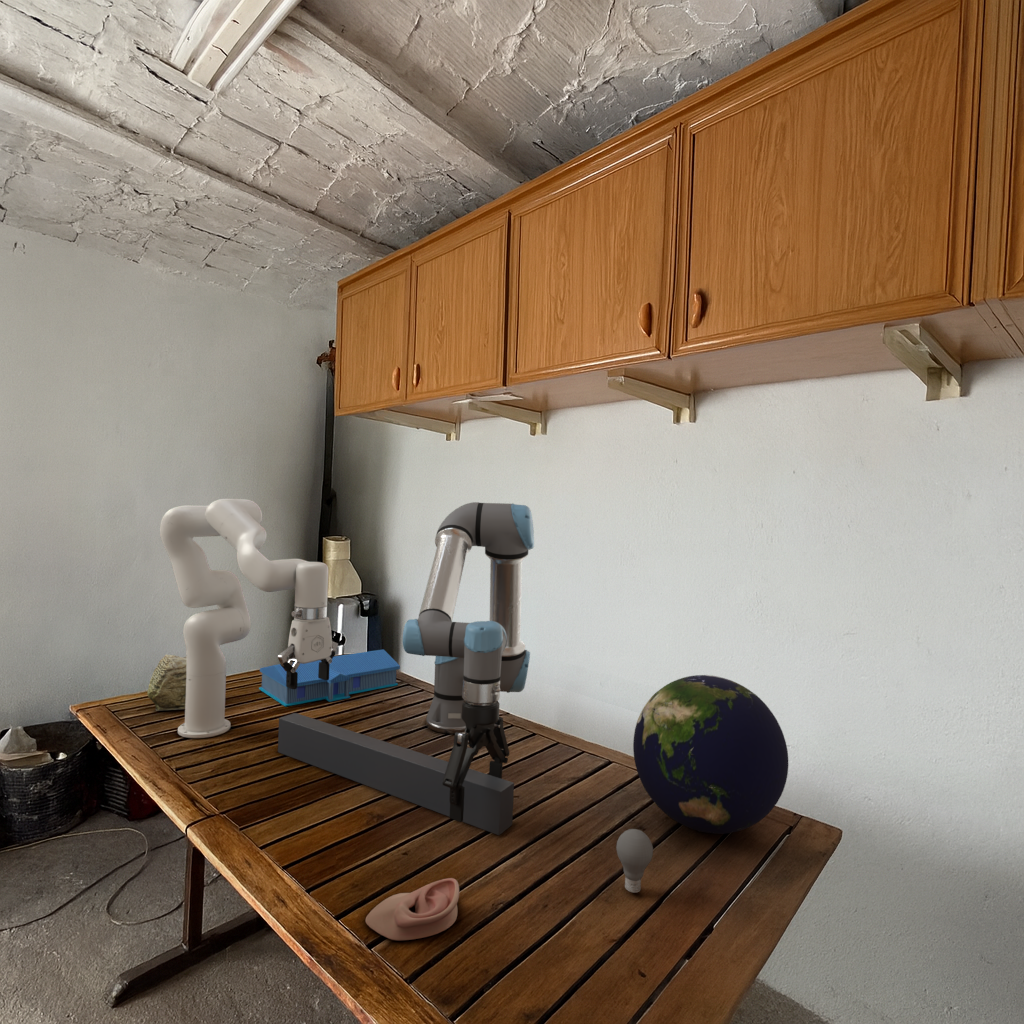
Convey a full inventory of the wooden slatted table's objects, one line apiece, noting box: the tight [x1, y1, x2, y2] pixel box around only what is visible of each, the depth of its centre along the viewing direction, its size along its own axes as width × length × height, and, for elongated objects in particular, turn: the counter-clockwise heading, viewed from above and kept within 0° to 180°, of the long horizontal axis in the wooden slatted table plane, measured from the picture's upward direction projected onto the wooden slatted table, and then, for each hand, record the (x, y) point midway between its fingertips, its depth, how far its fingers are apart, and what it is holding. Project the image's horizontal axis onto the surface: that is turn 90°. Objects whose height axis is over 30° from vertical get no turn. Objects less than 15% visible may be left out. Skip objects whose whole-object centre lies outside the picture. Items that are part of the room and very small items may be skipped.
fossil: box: [147, 654, 187, 712], centre depth 185 cm, size 9×18×15 cm, turn 132°
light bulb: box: [615, 828, 654, 894], centre depth 106 cm, size 6×6×10 cm
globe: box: [632, 674, 789, 835], centre depth 129 cm, size 30×30×30 cm
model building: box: [258, 649, 401, 707], centre depth 208 cm, size 39×24×10 cm, turn 132°
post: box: [277, 712, 515, 836], centre depth 141 cm, size 65×5×8 cm, turn 58°
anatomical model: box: [365, 877, 460, 942], centre depth 97 cm, size 13×4×12 cm
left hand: (308, 683), depth 154 cm, fingers open, 9 cm apart
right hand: (476, 806), depth 127 cm, fingers open, 13 cm apart
